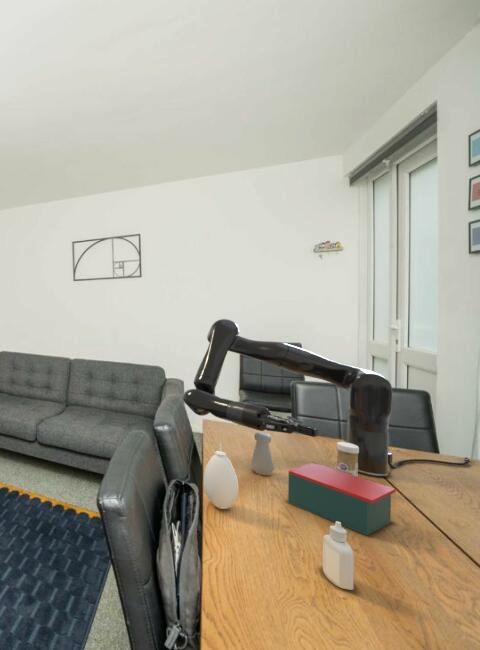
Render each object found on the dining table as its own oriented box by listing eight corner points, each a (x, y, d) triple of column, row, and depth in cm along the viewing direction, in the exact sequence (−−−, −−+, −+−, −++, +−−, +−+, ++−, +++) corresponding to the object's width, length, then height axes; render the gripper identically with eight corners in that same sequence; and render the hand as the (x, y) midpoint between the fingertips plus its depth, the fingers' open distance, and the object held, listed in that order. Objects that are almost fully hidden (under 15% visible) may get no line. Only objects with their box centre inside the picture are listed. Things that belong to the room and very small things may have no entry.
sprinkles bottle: (334, 487, 108) (335, 443, 108) (338, 482, 111) (338, 440, 110) (356, 493, 104) (357, 448, 104) (359, 489, 107) (360, 445, 107)
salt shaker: (278, 477, 114) (278, 437, 114) (257, 476, 115) (258, 436, 115) (266, 469, 120) (267, 431, 120) (247, 467, 121) (247, 430, 121)
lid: (395, 492, 90) (395, 489, 90) (371, 503, 85) (372, 500, 85) (312, 464, 105) (312, 462, 105) (288, 473, 100) (288, 470, 100)
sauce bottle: (231, 501, 101) (232, 439, 100) (243, 517, 93) (243, 450, 93) (200, 497, 103) (200, 436, 103) (208, 512, 96) (208, 446, 96)
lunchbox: (390, 522, 91) (391, 490, 91) (366, 535, 86) (367, 501, 86) (312, 492, 105) (312, 465, 105) (288, 502, 100) (288, 473, 100)
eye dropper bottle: (321, 581, 72) (322, 523, 72) (322, 567, 76) (323, 512, 76) (353, 594, 69) (354, 533, 69) (352, 578, 73) (353, 521, 73)
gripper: (234, 406, 112) (304, 423, 96) (259, 401, 118) (329, 416, 102) (234, 429, 113) (303, 450, 97) (259, 423, 118) (328, 442, 102)
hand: (316, 433), depth 99 cm, fingers closed
